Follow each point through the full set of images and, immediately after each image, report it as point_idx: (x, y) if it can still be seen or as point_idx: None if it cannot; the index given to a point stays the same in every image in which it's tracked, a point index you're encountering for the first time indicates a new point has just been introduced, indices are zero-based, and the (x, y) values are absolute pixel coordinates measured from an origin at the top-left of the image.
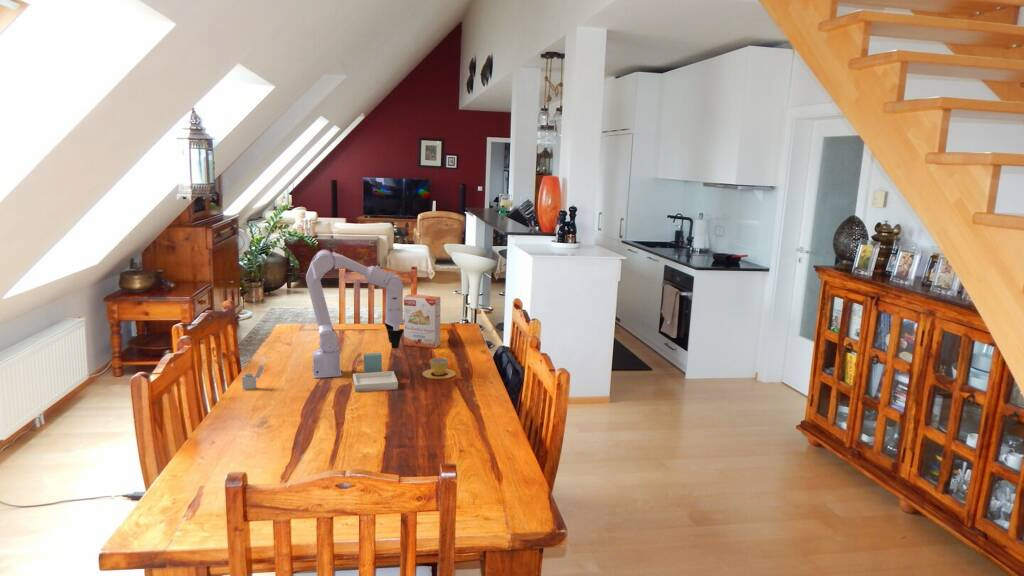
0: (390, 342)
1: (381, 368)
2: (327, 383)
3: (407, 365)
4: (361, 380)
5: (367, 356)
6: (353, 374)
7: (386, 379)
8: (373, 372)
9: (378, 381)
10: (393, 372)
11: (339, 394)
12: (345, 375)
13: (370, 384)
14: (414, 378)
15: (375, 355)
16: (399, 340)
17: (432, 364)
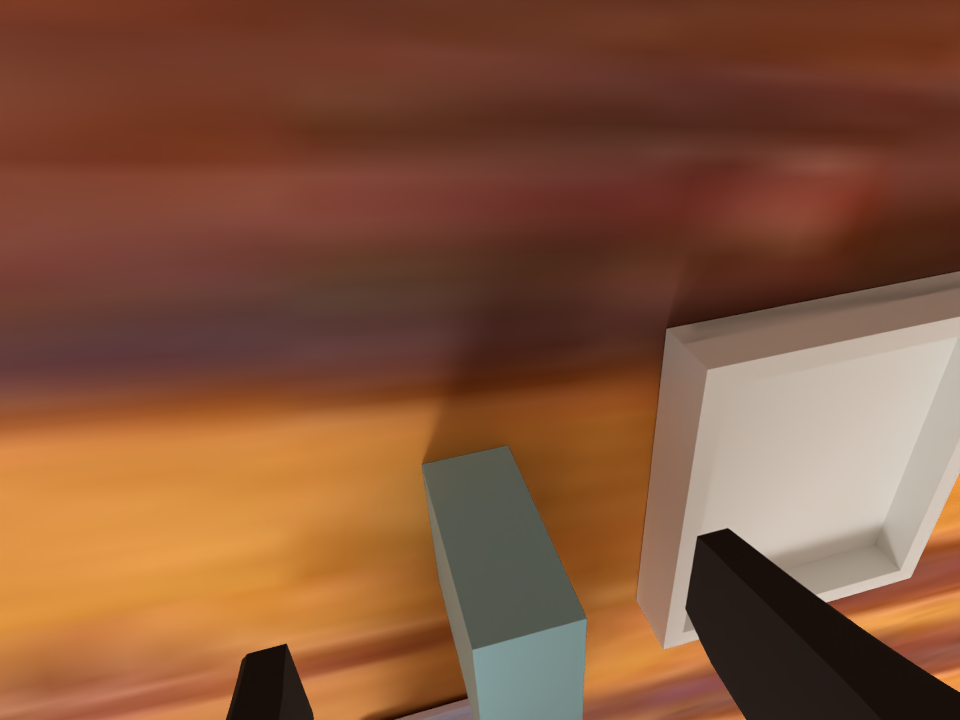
0: (309, 709)
1: (525, 487)
2: (643, 698)
3: (160, 178)
4: None
5: (579, 715)
6: (682, 641)
7: (783, 392)
8: (683, 531)
9: (805, 446)
10: (754, 364)
11: (860, 598)
12: None
13: (943, 494)
14: (761, 89)
15: (582, 667)
16: (891, 652)
17: None
